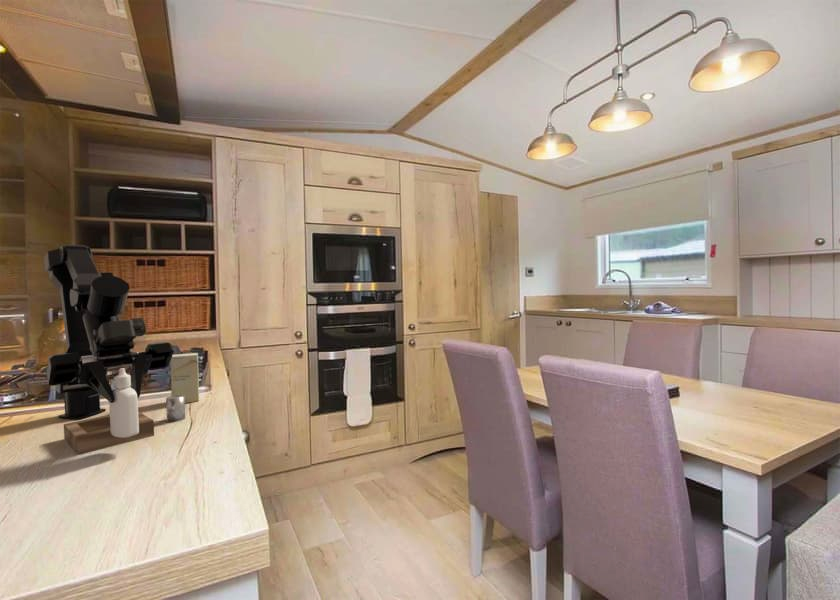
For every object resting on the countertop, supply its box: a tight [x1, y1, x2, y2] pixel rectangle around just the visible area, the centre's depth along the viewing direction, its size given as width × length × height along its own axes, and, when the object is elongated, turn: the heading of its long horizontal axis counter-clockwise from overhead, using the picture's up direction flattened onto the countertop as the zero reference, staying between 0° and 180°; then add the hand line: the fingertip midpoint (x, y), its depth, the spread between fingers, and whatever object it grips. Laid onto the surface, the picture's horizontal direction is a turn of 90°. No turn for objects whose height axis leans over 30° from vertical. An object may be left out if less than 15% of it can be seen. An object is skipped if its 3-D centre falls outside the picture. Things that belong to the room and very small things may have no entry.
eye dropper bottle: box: [108, 367, 139, 438], centre depth 76 cm, size 4×6×12 cm
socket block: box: [63, 411, 155, 455], centre depth 83 cm, size 12×12×3 cm
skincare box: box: [170, 352, 200, 404], centre depth 108 cm, size 6×4×12 cm
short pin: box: [165, 395, 186, 423], centre depth 93 cm, size 4×4×5 cm
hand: (125, 398), depth 75 cm, fingers closed on eye dropper bottle, 3 cm apart
